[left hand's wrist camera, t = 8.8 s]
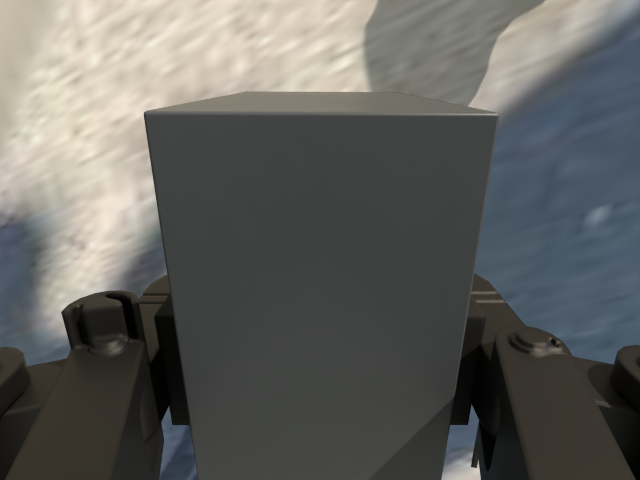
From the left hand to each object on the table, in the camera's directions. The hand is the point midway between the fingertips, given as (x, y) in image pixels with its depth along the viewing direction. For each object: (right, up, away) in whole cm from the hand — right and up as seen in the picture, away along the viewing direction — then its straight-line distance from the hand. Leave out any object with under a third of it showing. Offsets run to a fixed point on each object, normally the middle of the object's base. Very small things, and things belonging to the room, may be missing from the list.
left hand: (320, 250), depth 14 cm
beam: (0, -22, +9) cm, 24 cm away
